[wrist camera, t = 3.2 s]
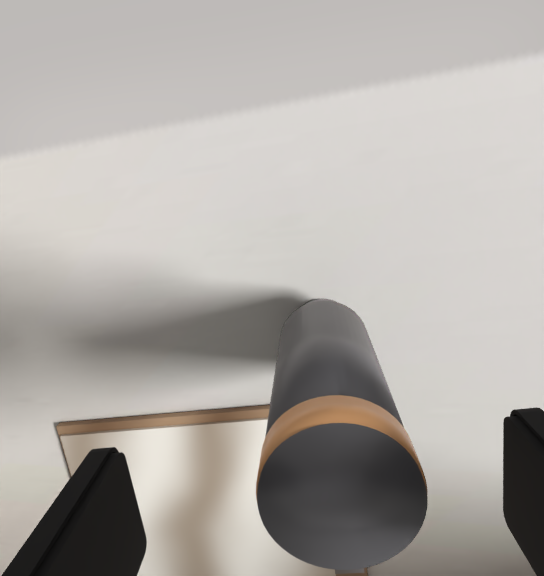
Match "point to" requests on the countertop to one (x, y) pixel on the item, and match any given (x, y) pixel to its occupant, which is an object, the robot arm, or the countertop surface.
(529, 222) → the countertop surface
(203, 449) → the clipboard
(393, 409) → the grey rounded cylinder
